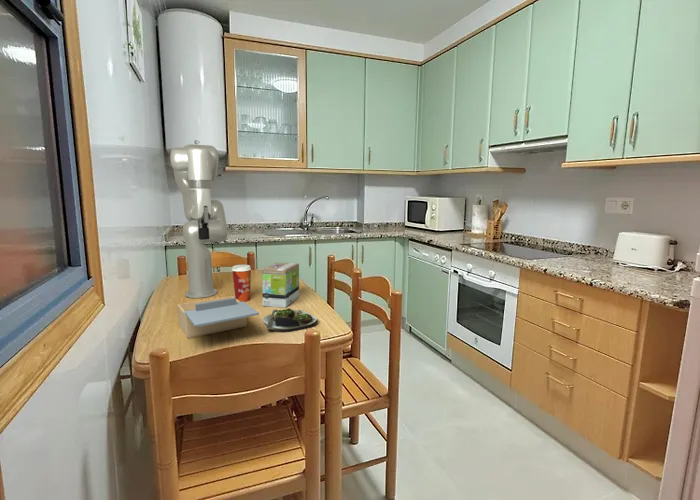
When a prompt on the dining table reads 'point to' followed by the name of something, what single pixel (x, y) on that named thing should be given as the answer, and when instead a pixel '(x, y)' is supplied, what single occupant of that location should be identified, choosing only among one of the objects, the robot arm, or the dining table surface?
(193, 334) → the box
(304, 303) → the dining table surface
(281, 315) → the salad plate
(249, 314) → the lid
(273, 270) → the tea box
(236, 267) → the paper cup
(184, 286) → the dining table surface
